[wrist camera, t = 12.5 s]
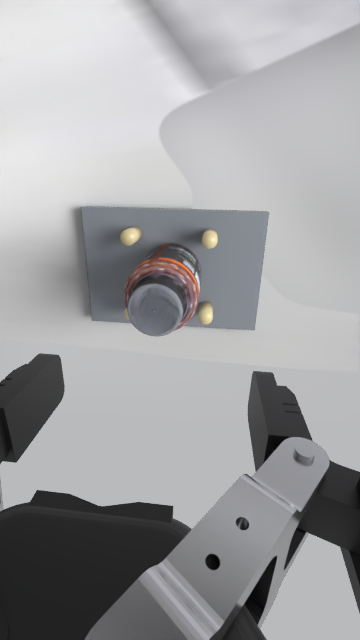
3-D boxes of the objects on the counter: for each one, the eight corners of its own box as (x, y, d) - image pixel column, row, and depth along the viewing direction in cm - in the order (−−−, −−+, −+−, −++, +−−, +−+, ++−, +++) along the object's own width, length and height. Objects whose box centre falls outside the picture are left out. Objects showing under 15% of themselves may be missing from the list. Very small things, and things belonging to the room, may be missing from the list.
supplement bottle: (139, 290, 33) (104, 336, 23) (151, 234, 31) (119, 257, 21) (193, 305, 33) (183, 358, 23) (209, 251, 31) (206, 282, 21)
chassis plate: (86, 206, 32) (67, 208, 28) (266, 211, 30) (274, 214, 26) (96, 315, 37) (81, 331, 32) (253, 324, 35) (258, 342, 31)
